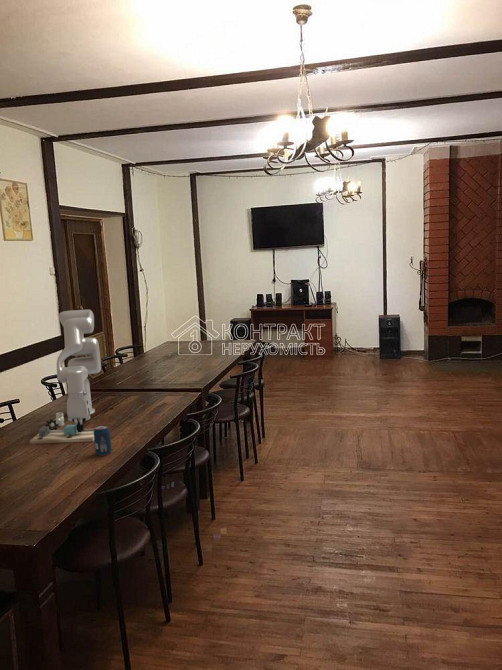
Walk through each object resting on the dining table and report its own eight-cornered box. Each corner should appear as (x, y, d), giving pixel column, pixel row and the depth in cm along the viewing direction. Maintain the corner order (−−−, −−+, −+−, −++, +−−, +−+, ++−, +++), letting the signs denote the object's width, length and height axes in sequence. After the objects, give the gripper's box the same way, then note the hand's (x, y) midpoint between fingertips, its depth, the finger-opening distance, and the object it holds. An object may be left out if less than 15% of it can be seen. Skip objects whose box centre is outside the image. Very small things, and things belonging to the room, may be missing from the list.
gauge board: (40, 435, 266) (39, 425, 266) (100, 432, 265) (99, 423, 265) (30, 443, 254) (28, 433, 254) (92, 441, 254) (91, 431, 253)
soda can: (105, 449, 242) (103, 423, 241) (115, 452, 238) (112, 426, 236) (92, 454, 237) (90, 428, 235) (101, 457, 233) (99, 430, 231)
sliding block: (67, 431, 264) (67, 425, 263) (77, 431, 263) (77, 424, 263) (62, 437, 256) (61, 430, 255) (72, 436, 256) (71, 429, 255)
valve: (56, 424, 283) (45, 431, 271) (55, 412, 282) (44, 419, 270) (68, 424, 283) (58, 431, 271) (67, 411, 282) (57, 419, 270)
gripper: (94, 392, 262) (98, 428, 264) (64, 393, 262) (68, 429, 265) (89, 396, 254) (93, 433, 257) (58, 397, 254) (62, 434, 257)
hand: (80, 431), depth 261 cm, fingers closed
